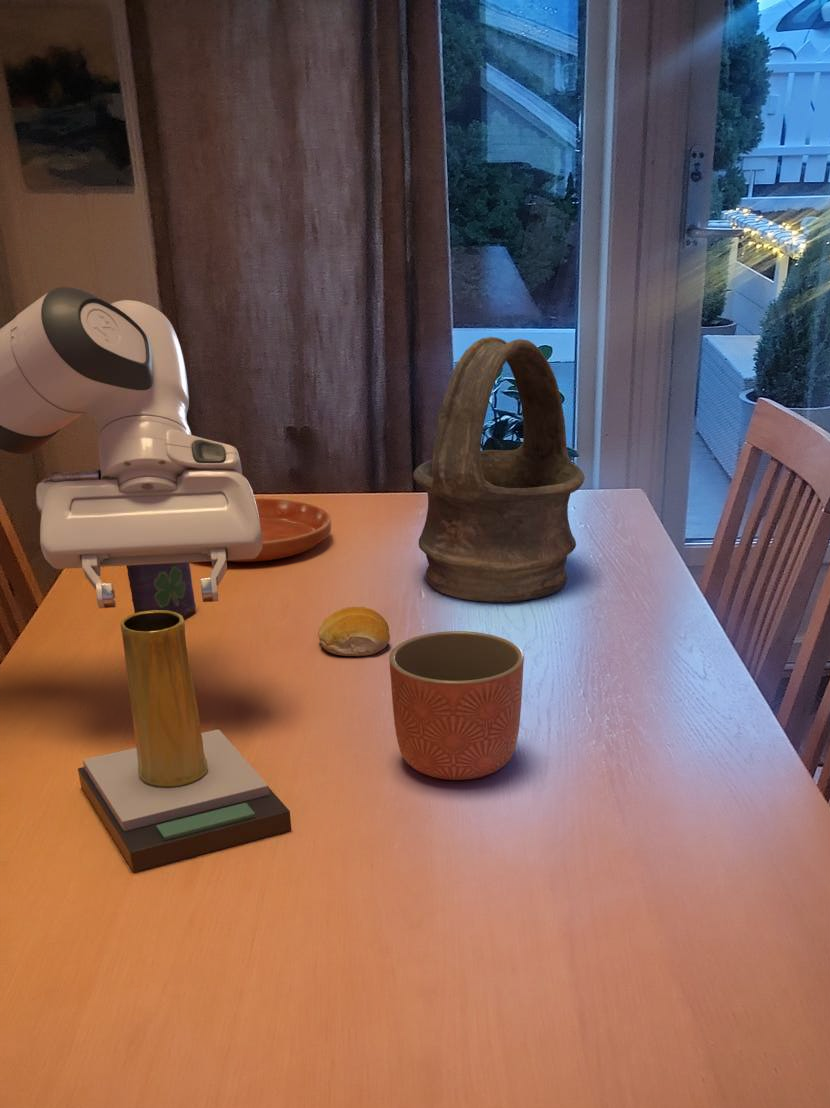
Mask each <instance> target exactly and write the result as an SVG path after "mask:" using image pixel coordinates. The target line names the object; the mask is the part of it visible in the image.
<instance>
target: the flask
mask: <svg viewBox="0 0 830 1108" xmlns="http://www.w3.org/2000/svg"><path fill="white" fill-rule="evenodd" d="M190 563H191V562H184V563H165V564H146V565H127V566H126V571H127V577H128V582H129V588H130V592H131V593H130V594H131V601H132V605H133V610H134V613H138V612H142V611H151V610H167V611H172V612H176V613H178V614H180V615H181V616H182V617H183V619H184V620H186V619H188V618H190V617H193V616H194V614H195V613H196V606H197V605H196V601H195V593H194V587H193V578H192V571H191V564H190Z"/></svg>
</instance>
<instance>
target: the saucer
mask: <svg viewBox="0 0 830 1108" xmlns="http://www.w3.org/2000/svg"><path fill="white" fill-rule="evenodd" d="M255 502H256V506H257V510H258V514H259V519H260V525H261V533H262V550H261V552H260V553H259V555H258V556H257V557H256V558H254V559H241V560H226V561H227V562H230V563H232V562H234V563H253V562H266V561H273V560H279V559H284V558H289V557H292V556H295V555H299V554H302V553H305V552H306V551H309V550H311V549H313V548H314V547H316V546H317V544H319V543H320V542H322V541H324V540H325V539H327V538H328V536H329V535H330V534H331V532H332V517H331V514H330V513H329V512H328V511H327V510H325V509H323V508H322V507H320V506H317V505H315V504H311V503H307V502H303V501H298V500H291V499H290V500H289V499H281V498H264V497H263V498H255Z"/></svg>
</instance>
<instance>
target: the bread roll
mask: <svg viewBox="0 0 830 1108" xmlns="http://www.w3.org/2000/svg"><path fill="white" fill-rule="evenodd" d="M389 631H390V627H389V625H388V622H387V621H386V619H385V618H384V617H383V616H382V614H380V613H379V612H377V611H376V610H374V609H373V608H372V609H371V608H368V607H366V606H365V607H364V606H348V607H345V608H341V609H339V610H337V611H335V612H333V613H332V614H331V615H329V616H328V617H326V618H325V619H324V620H323V622H322V623H321V625H320V627H319V630H318V635H317V636H318V640H319V643H320V645H321V647H322V648H323V649H324V650H325V651H326V652H329V653H331V654H333V655H338V656H344V657H365V656H366V657H367V656H372V655H376V654H377V653H379V652H380V651H382V650H384V649H385V648H386V647H387V645H388V643H389V641H390V640H391V635H390V632H389Z"/></svg>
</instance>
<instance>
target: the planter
mask: <svg viewBox="0 0 830 1108" xmlns="http://www.w3.org/2000/svg"><path fill="white" fill-rule="evenodd" d="M388 661H389V672H390V673H389V674H390V687H391V700H392V712H393V722H394V730H395V735H396V741H397V745H398V749H399V750H400V751H399V752H400V754H401V757H402V758H403V759H404V761H405V762H406V763H407V764H408V765H409V766H410V767H411V768H413V769H414V770H415V771H417V772H419V773H421V774H423V775H426V776H429V777H432V778H436V779H440V780H449V781H466V780H475V779H478V778H482V777H486V776H489V775H491V774H493V773H496V772H497V771H498V770H500V769H501V768H503V767H504V766H506V765H507V763H508V762H509V761H510V760H511V759H512V758H513V755H514V753H515V750H516V747H517V743H518V739H519V733H520V723H521V714H522V713H521V712H522V698H523V697H522V696H523V681H524V664H525V657H524V652H523V651H522V650H521V648H520V647H519V646H517V644H515V643H513V642H511V640H508V639H505V638H503V637H500V636H497V635H494V634H491V633H485V632H476V631H464V630H463V631H462V630H452V631H438V632H431V633H425V634H420V635H418V636H414V637H411V638H408V639H406V640H404V641H402V642H400V643H399V644H397V645H396V646H395V647H394V648H393V649H392V651H391V652H390V654H389V659H388Z"/></svg>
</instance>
